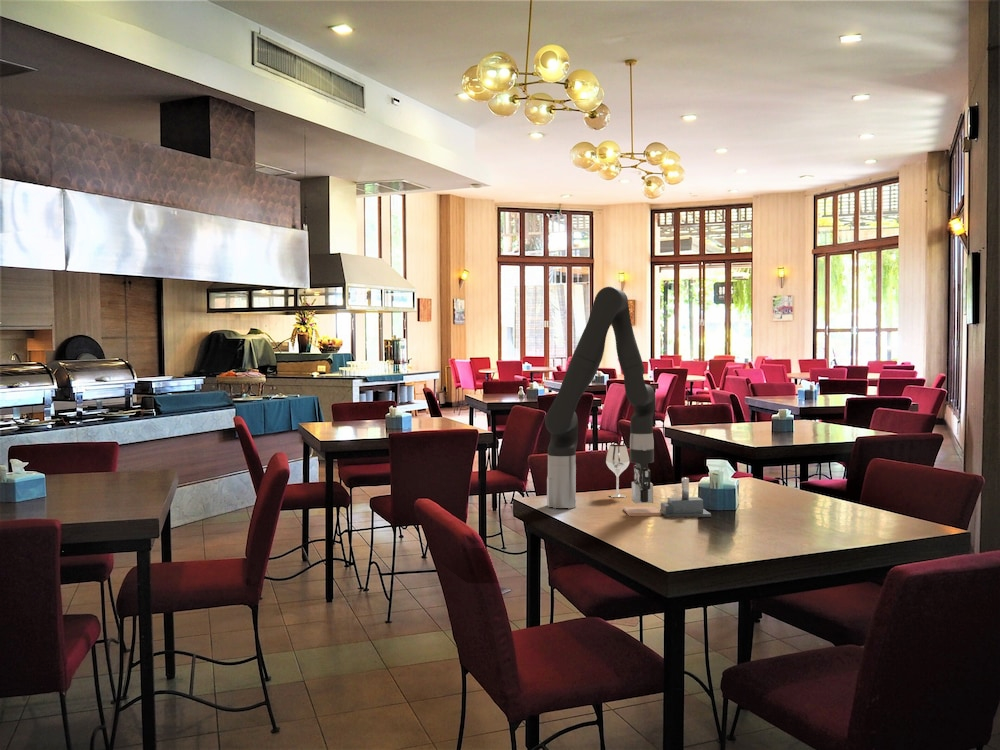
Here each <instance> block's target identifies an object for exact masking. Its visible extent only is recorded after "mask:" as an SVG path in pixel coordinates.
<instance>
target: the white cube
mask: <svg viewBox="0 0 1000 750" xmlns="http://www.w3.org/2000/svg"><path fill="white" fill-rule="evenodd" d="M644 485H646V483H644ZM631 501H632V502H634V504H654V484H653V483H652V482H651V481H650V489H649V490H648V502H641V489H640V483H638V482H634V481H631Z"/></svg>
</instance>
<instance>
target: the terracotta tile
mask: <svg viewBox="0 0 1000 750" xmlns="http://www.w3.org/2000/svg"><path fill="white" fill-rule="evenodd" d="M623 510H624V511H625V512H626V513H627V514H628V515H629V516H628V515H627V514H626V515H627V516H628V517H658V516H659V517H660V516H661V515H662V514H661V512H660V510H659V509H657V508H656V507H655V506H622V511H623ZM624 511H623V512H624ZM625 512H624V513H625Z"/></svg>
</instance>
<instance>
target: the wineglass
mask: <svg viewBox="0 0 1000 750" xmlns="http://www.w3.org/2000/svg"><path fill="white" fill-rule="evenodd" d="M605 458H606V459H605V464H606V466H607V467H608V469H609V470H611V472H613V474H614V475H615V476H616V493H613V496H611V497H610V498H613V497H624V498H627V497H628V496H627V495H626V494H623V493H622V494H621V493H620V489H619V487H620V484H619V483H620V478H619V477H620V475H621V474H622V473H623V472H624V471H625V470H627V469H628V467H629V465H630V455H629V453H628V448H627V445H626V444H609V446H608V449H607V453H606V457H605ZM626 496H627V497H626Z"/></svg>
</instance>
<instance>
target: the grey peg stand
mask: <svg viewBox="0 0 1000 750" xmlns="http://www.w3.org/2000/svg"><path fill="white" fill-rule="evenodd" d="M659 511H660V512H661V515H663V517H665V518H711V517H712V513H711V512H709V511H707V510H706V509H705V508H704V499H702V498H701V497H699V496H697V497H696V496H695V497H694V496H693V497H692V496H691V497H690V478H689V477H682V478H681V497H667V501H666V502H665V501H662V502H661V501H660V510H659Z"/></svg>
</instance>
